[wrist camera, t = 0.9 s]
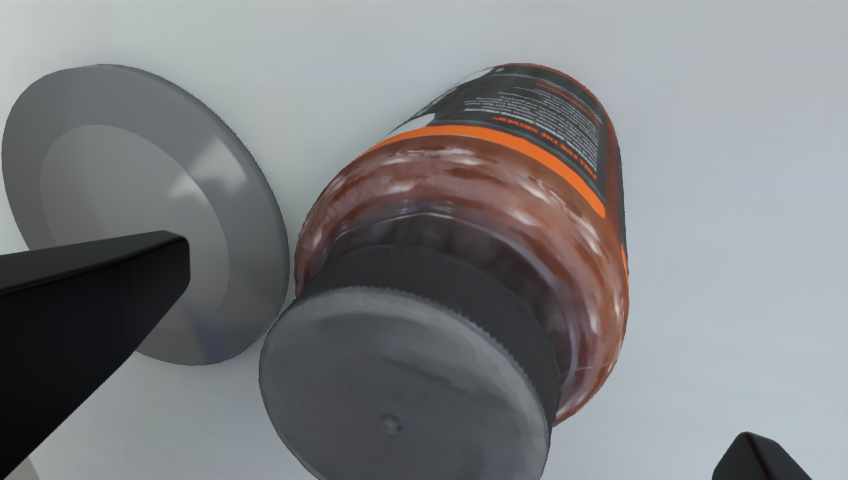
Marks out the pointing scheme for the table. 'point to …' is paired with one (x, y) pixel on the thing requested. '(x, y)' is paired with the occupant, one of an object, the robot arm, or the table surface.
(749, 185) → the table surface
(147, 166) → the plate
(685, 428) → the table surface
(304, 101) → the table surface
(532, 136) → the supplement bottle
